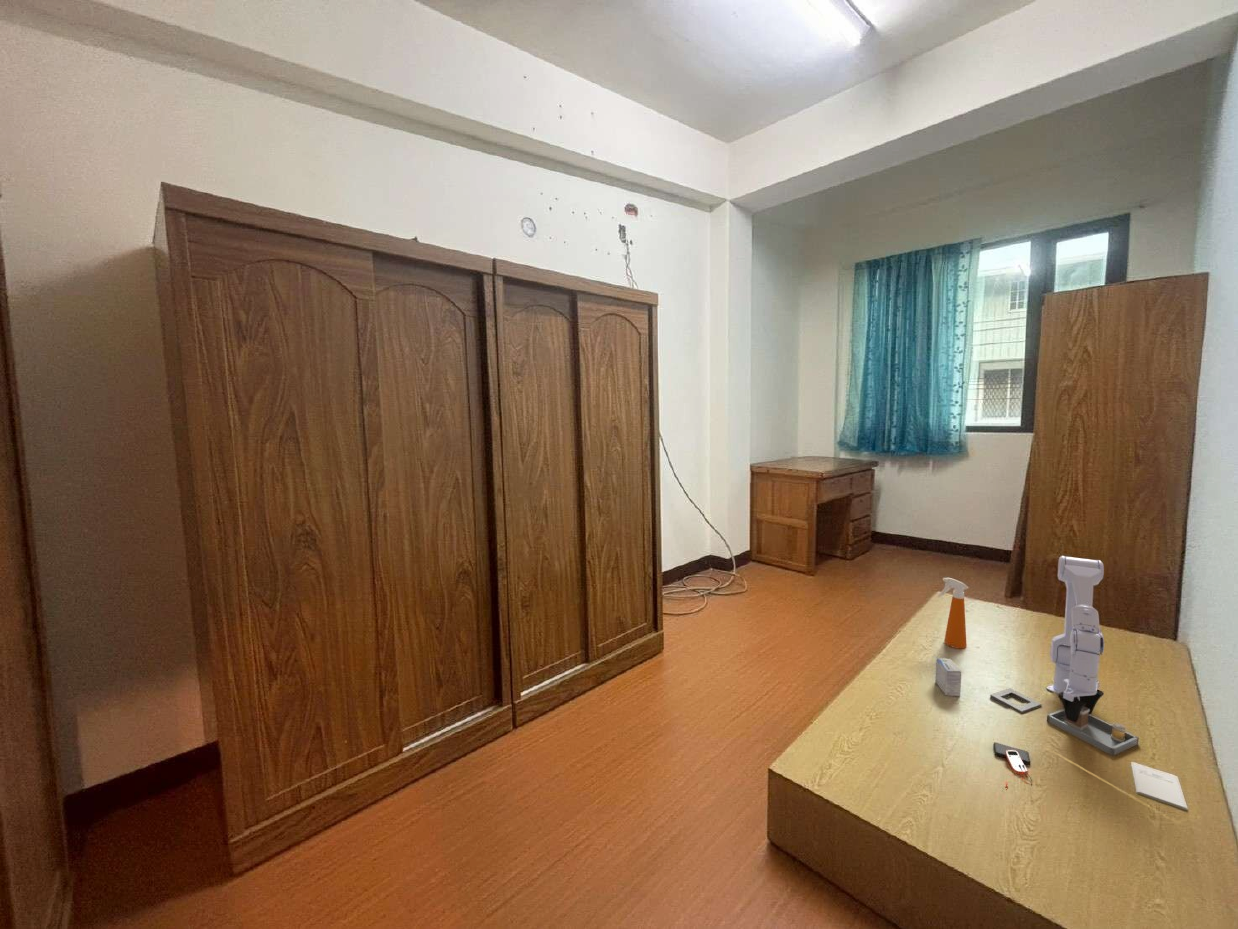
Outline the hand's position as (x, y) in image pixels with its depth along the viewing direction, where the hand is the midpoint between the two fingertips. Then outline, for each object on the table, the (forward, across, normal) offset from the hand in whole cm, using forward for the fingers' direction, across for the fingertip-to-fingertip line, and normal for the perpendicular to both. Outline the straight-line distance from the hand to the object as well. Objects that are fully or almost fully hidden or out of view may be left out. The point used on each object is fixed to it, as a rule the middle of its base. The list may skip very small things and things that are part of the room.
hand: (1078, 716), depth 142 cm
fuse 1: (+3, 0, 0) cm, 3 cm away
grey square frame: (+3, +3, -14) cm, 15 cm away
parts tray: (+3, 0, +3) cm, 5 cm away
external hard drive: (+4, +10, +20) cm, 22 cm away
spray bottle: (+4, -16, -46) cm, 48 cm away
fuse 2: (+3, -2, +8) cm, 9 cm away
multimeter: (+4, +33, +3) cm, 33 cm away
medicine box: (+4, +14, -28) cm, 32 cm away
